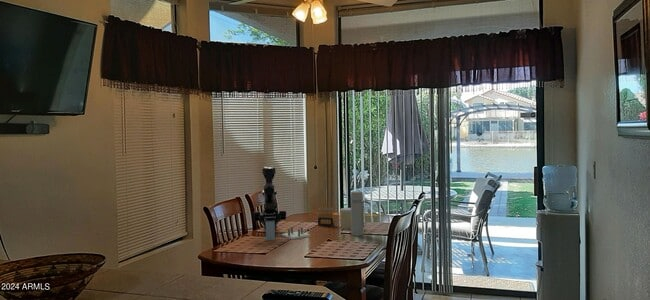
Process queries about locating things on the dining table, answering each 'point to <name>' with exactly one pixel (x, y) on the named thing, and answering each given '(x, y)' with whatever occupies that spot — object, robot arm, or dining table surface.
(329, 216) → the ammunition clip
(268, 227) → the block
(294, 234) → the base plate
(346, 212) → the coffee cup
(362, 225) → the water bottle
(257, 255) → the dining table surface
